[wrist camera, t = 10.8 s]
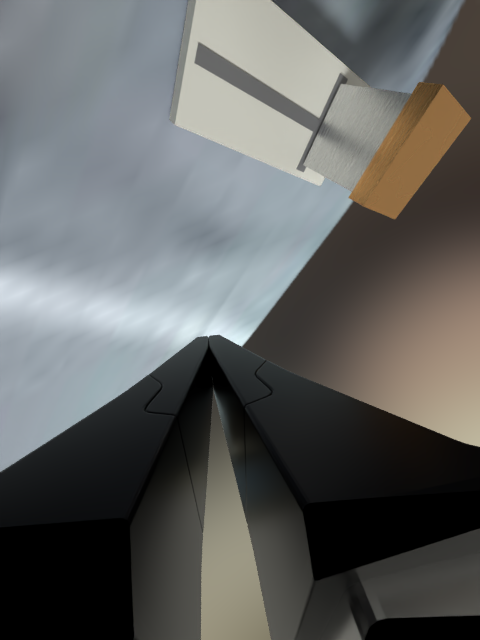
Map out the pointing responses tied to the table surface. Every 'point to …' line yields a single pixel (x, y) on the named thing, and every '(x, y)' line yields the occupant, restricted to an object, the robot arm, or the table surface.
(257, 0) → the block
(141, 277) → the table surface
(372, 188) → the handle
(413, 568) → the robot arm
